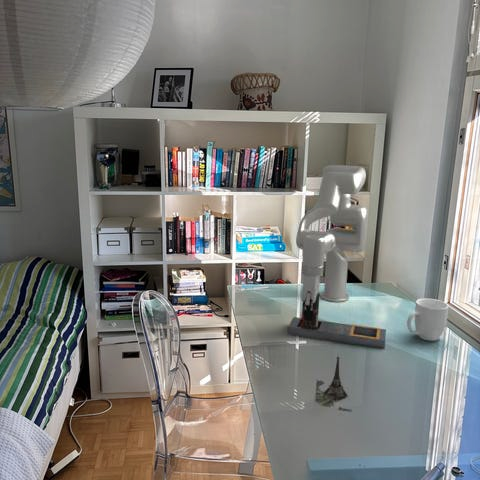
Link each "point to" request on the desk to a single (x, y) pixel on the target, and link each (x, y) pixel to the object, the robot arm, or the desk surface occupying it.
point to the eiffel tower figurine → (331, 391)
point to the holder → (340, 333)
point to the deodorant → (313, 323)
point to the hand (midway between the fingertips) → (310, 316)
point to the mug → (429, 318)
